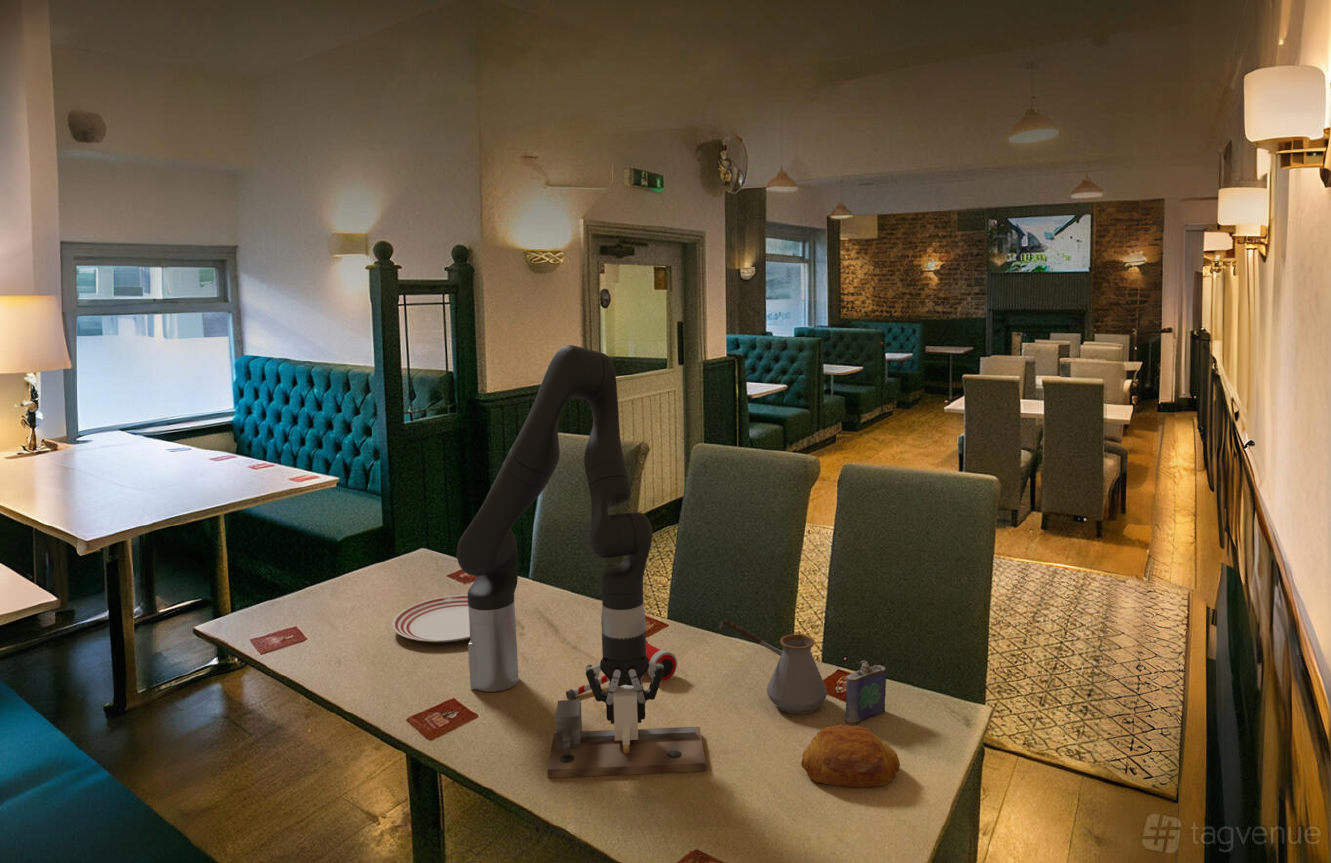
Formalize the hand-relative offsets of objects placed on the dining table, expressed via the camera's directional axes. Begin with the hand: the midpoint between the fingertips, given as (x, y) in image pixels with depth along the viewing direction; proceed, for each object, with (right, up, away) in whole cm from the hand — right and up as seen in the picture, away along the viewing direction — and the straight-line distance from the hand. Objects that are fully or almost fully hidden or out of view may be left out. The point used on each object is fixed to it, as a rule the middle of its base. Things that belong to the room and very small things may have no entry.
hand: (626, 720), depth 149 cm
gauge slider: (0, -3, -1) cm, 3 cm away
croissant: (+37, -6, -8) cm, 38 cm away
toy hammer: (-1, -1, +27) cm, 27 cm away
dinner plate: (-44, +3, +56) cm, 72 cm away
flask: (+44, -3, +9) cm, 45 cm away
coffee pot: (+27, -2, +17) cm, 32 cm away
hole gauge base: (0, -5, -2) cm, 6 cm away
